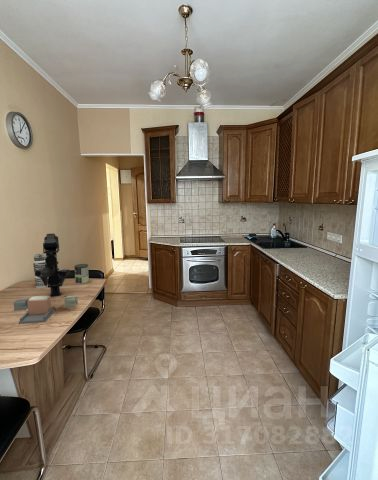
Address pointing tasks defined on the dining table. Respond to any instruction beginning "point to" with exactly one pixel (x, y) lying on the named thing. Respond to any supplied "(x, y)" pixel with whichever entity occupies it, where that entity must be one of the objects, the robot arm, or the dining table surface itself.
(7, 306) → the dining table surface
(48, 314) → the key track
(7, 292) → the dining table surface
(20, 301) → the slate block
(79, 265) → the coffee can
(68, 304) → the sage block
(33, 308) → the terracotta key block
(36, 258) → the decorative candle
